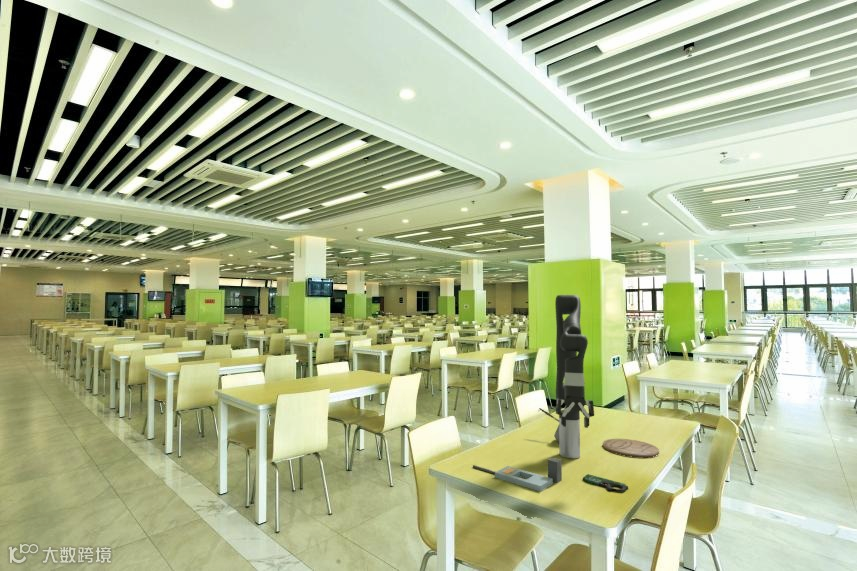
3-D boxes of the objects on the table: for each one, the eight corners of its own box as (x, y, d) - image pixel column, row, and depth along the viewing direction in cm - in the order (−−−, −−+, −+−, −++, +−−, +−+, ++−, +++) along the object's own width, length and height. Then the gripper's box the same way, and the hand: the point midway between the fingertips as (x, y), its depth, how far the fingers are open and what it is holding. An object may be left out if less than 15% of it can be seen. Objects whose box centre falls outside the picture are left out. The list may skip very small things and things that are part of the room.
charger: (552, 477, 171) (552, 457, 172) (561, 480, 169) (561, 459, 169) (547, 480, 168) (547, 459, 169) (557, 483, 166) (557, 462, 166)
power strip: (482, 463, 187) (482, 458, 187) (552, 483, 165) (552, 478, 165) (468, 469, 179) (468, 463, 179) (540, 491, 157) (540, 485, 157)
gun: (578, 480, 166) (588, 473, 174) (578, 483, 166) (588, 476, 174) (621, 492, 155) (630, 484, 163) (621, 496, 155) (630, 488, 163)
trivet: (664, 449, 210) (664, 445, 210) (652, 462, 191) (651, 458, 191) (611, 439, 226) (611, 435, 226) (595, 450, 207) (595, 446, 207)
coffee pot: (581, 442, 219) (581, 412, 220) (571, 447, 211) (571, 416, 212) (543, 433, 234) (543, 406, 235) (533, 438, 226) (533, 409, 227)
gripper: (588, 384, 172) (589, 426, 169) (553, 383, 172) (554, 424, 169) (596, 385, 165) (597, 429, 162) (559, 384, 165) (559, 427, 162)
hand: (575, 427), depth 165 cm, fingers open, 8 cm apart
